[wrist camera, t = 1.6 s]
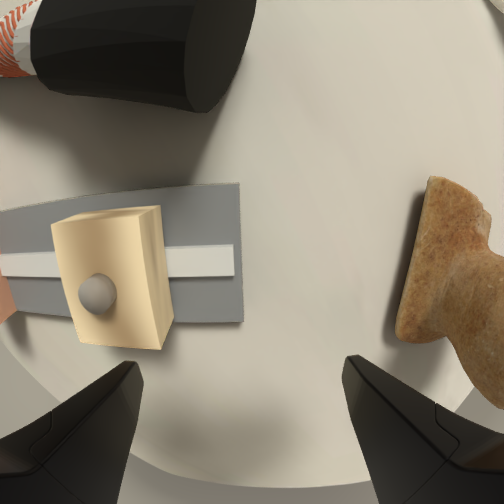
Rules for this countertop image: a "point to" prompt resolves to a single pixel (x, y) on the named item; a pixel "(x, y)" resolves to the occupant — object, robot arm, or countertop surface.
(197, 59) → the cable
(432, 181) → the stone cup
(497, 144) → the countertop surface
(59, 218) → the track
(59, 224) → the block
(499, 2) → the base with upright slab
